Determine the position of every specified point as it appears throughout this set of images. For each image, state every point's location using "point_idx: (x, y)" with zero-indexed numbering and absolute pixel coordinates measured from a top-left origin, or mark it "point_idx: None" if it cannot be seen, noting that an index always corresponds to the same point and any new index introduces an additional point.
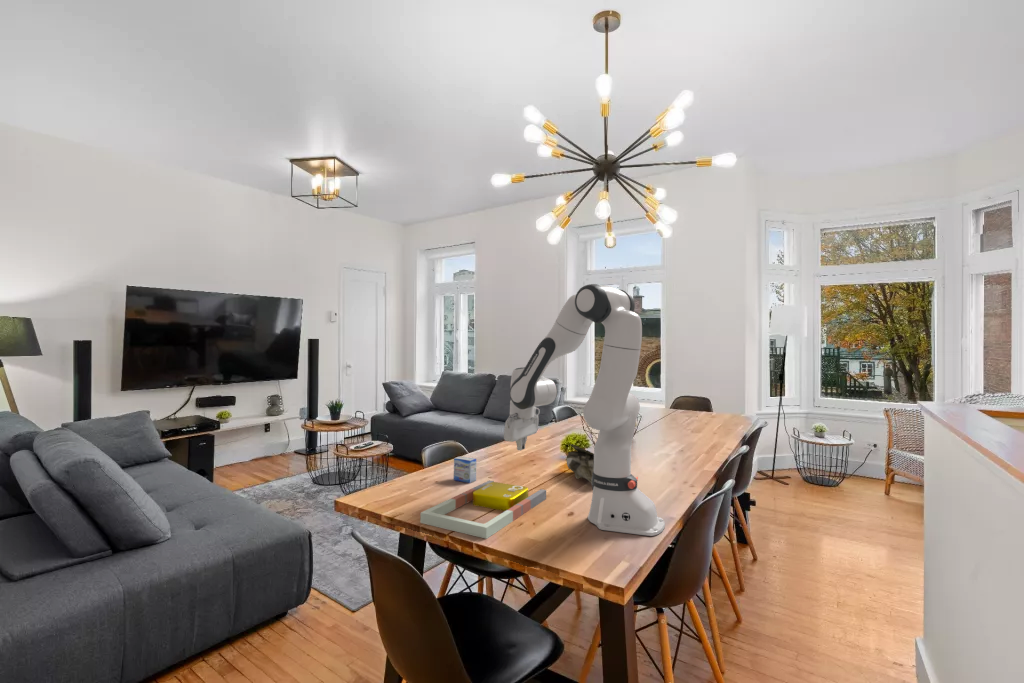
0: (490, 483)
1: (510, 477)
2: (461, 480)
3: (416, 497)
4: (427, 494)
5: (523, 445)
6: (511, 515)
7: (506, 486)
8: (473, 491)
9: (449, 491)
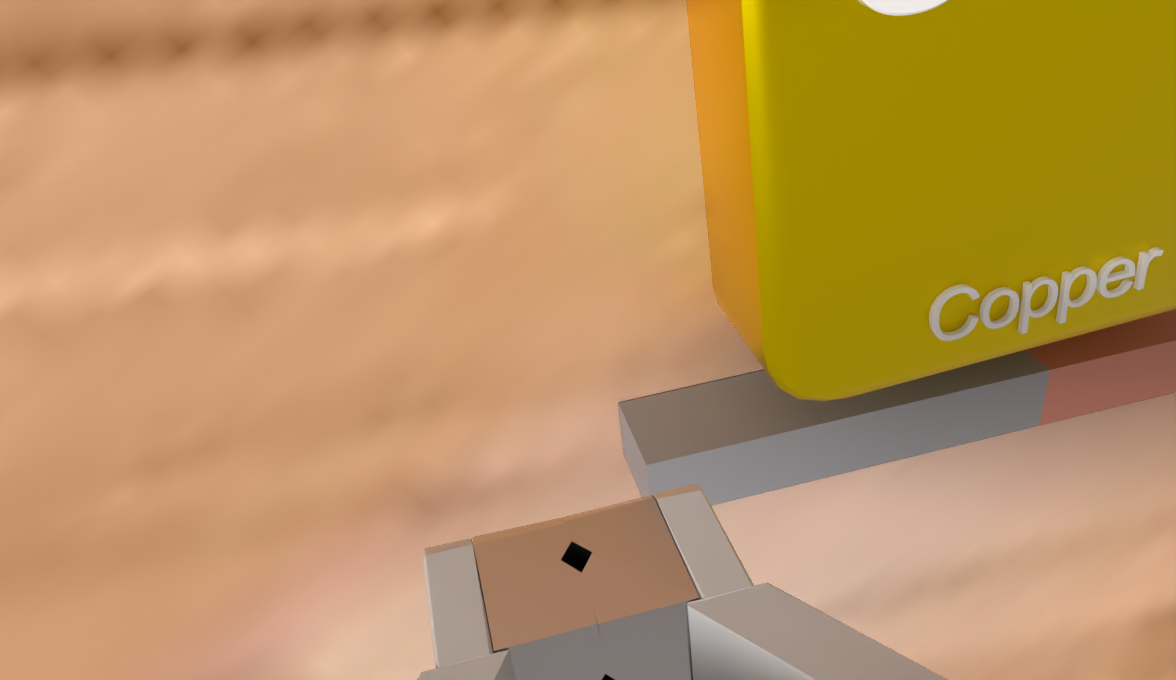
0: (873, 370)
1: (56, 595)
2: None
3: (1136, 637)
4: (1045, 645)
5: (580, 612)
6: None
7: (896, 124)
8: (1093, 355)
9: (905, 608)
